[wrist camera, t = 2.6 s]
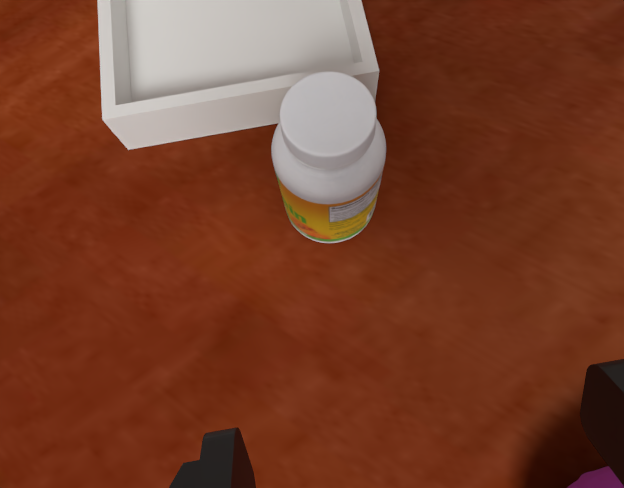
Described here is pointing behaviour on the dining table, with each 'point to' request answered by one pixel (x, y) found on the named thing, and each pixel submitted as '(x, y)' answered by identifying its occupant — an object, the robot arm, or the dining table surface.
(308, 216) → the supplement bottle
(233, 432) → the robot arm
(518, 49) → the dining table surface
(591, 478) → the donut
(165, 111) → the tray
